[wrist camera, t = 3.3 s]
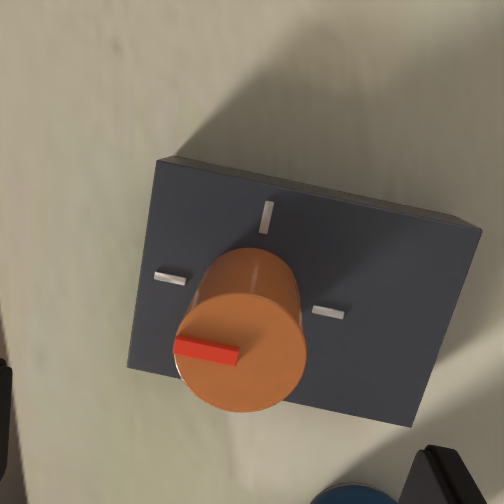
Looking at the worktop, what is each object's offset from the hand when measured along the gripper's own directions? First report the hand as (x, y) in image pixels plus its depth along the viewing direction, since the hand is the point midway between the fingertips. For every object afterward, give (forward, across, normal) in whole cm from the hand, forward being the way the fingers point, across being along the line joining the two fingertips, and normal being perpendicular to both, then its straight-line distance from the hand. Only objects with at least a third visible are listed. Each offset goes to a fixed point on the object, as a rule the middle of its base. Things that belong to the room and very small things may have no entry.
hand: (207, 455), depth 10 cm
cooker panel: (+13, -3, 0) cm, 14 cm away
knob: (+10, -1, 0) cm, 10 cm away
